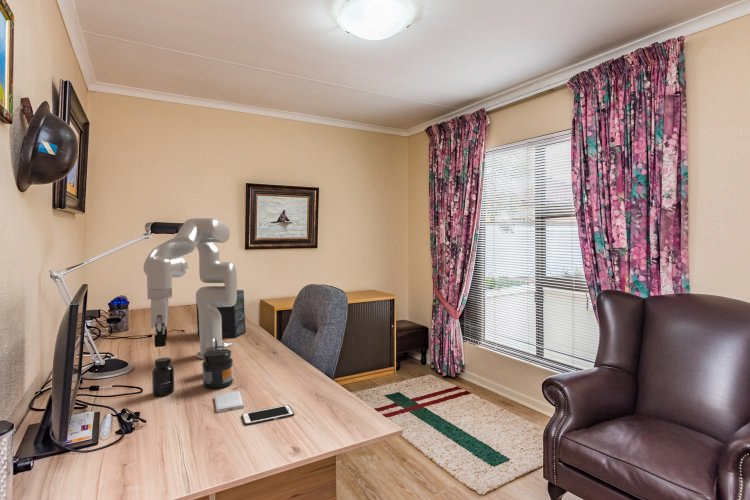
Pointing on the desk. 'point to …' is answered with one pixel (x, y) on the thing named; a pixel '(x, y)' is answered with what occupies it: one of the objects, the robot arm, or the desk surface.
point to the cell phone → (267, 414)
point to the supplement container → (217, 368)
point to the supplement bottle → (163, 377)
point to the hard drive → (228, 401)
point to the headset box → (231, 317)
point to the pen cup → (214, 346)
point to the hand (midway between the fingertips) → (161, 343)
